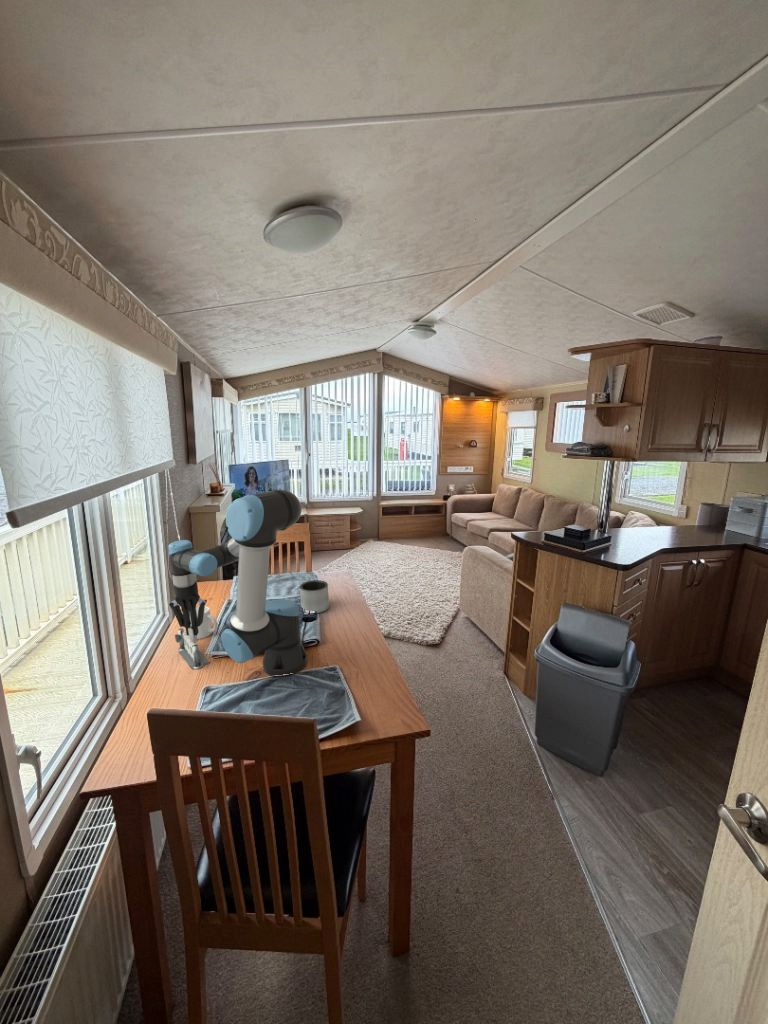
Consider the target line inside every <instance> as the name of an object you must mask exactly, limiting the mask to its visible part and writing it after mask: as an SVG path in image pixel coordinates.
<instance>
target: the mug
mask: <svg viewBox="0 0 768 1024" xmlns="http://www.w3.org/2000/svg"><path fill="white" fill-rule="evenodd" d="M198 610H199V606H196V613H197V618H198ZM189 613H190V611H189ZM190 620H191V617H190ZM212 623H213V626H212ZM191 625H192V624H191ZM217 629H218V621H217V619H216V618H215V617H214V616H213V615H212V614H211V609H210V607H208V606H206V605H205V608H204V616H203V623H202V624H201V625H200V626H199V627H198V632H199V633H198V634H197V640H202V639H205V638H208V637H209V636H210V635H211V634H212V633H213V632H215V631H216V630H217Z"/></svg>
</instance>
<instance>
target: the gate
mask: <svg viewBox="0 0 768 1024" xmlns="http://www.w3.org/2000/svg"><path fill="white" fill-rule="evenodd" d="M183 638H184V646H185V650H187V651H188V654H190V656H191V658H193V660H194V656H193V649H192V646H193V645H196V643H195V644H194V643H193V642H192V640H190V638H189V636H187V634H186V631H184V633H183Z"/></svg>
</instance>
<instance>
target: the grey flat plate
mask: <svg viewBox="0 0 768 1024" xmlns="http://www.w3.org/2000/svg"><path fill="white" fill-rule="evenodd" d="M178 653H179V655H180V656H181V657H182V658H183V659H184V661H185V662H186V663H187V665H188V666H189V667H190V668H191V670H195V669H194V668H193V666H194V665H195V663H194V660H193V658H191V656H190V654H188V651H187V650H183V651H178ZM199 653H200V660H201V663H202V664H203V666H205V665H208V664H210V663H211V661H210V660H209V659H208V658H207V657H206V656H205V655H204V654H203V653H202V651H201V650H200V649H199Z"/></svg>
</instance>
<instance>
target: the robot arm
mask: <svg viewBox="0 0 768 1024" xmlns="http://www.w3.org/2000/svg"><path fill="white" fill-rule="evenodd" d="M301 515H302V504H301V501H300V500H299V497H297V496H296V495H295V494H294V493H293V492H291V491H289V490H285V489H275V490H271V491H265V492H261V493H256V494H247V495H244V496H242V497H239V498H236V499H235V500H233V501H231V503H230V504H229V506H228V507H227V509H226V513H225V526H226V527H227V532H228V534H229V535H230V537H231V538H230V539H229V540H227V541H226V542H225V543H222V544H218V545H215V546H212V547H209V548H206V549H202V550H196V549H193V543H192V542H191V541H190V540H188V539H180V540H175V541H172V542H171V543H169V544H168V548H167V549H168V557H169V563H170V569H171V576H172V582H173V589H174V595H175V598H174V600H171V602H170V603H169V604H168V605H169V607H170V608H171V609H172V611H173V614H174V615H175V618H176V620H177V623H178V626H179V627H180V628H185V632H186V634H187V636H189V638H190V640H192V642H193V643H194V644H195V645H196V643H197V642H198V639H197V634H198V633H199V632H198V627H199V626H200V625H201V624H202V623H203V616H204V608H205V606H206V604H207V602H208V600H207V599H202V598H201V596H200V595H199V588H198V582H197V579H198V578H197V576H201V577H209V576H211V575H213V574H214V573H215V571H217V569H218V568H219V569H220V568H221V567H224V566H228V565H230V564H234V563H236V562H237V563H238V566H237V567H238V568H237V571H238V572H237V585H236V586H237V588H236V602H235V603H236V604H235V606H236V607H235V612H233V614H232V615H231V617H230V621H229V622H230V623H229V627H228V628H226V629H224V630H223V631H222V633H221V636H220V641H221V643H222V647H223V649H224V652H226V654H227V655H228V657H230V659H232V660H233V661H234V662H236V663H238V664H244V663H247V662H249V661H250V660H253V659H254V658H256V657H258V656H259V655H261V654H263V653H264V655H263V659H262V668H263V671H264V673H265V674H267V675H269V676H271V675H283V674H290V673H295V674H297V673H298V672H301V671H302V670H304V668H305V667H306V665H307V664H308V655H307V652H306V649H305V648H304V645H303V643H302V640H301V625H300V612H299V606H298V605H297V603H296V602H294V601H293V600H290V599H289V600H288V599H273V600H268V601H267V592H268V591H267V590H268V577H269V567H270V556H271V555H270V554H271V553H270V552H271V547H273V546H274V545H275V544H276V542H277V535H278V534H277V533H278V532H282V531H283V532H284V531H285V530H288V529H289V528H290V527H292V526H293V525H294V524H296V523H297V522H298V521H299V519H300V517H301ZM197 604H198V607H199V610H198V618H197V613H196V607H197ZM189 611H190V613H189ZM190 617H191V620H190ZM191 624H192V625H191ZM296 672H297V673H296Z"/></svg>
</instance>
